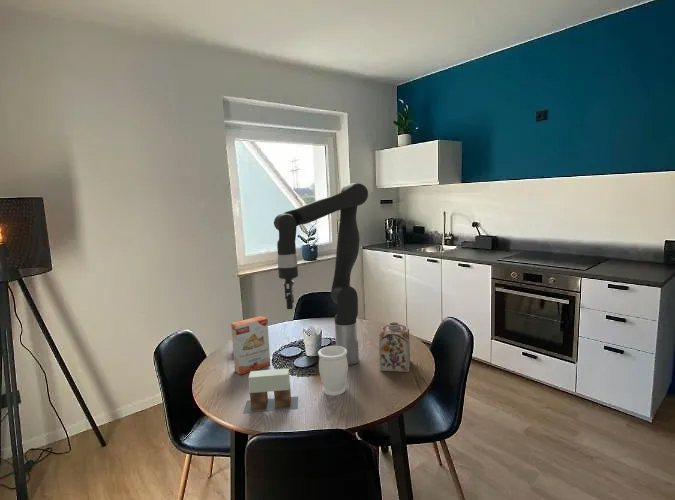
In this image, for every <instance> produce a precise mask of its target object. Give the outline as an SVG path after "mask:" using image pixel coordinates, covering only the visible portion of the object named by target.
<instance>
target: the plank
mask: <svg viewBox="0 0 675 500" xmlns="http://www.w3.org/2000/svg"><path fill="white" fill-rule="evenodd" d="M289 386H290V387H291V381H290V369H289V368H277V369H265V370H264V369H263V370H253V371H250V372H249V375H248V387H249V394H250V393H257V392H267V393H269V392H274V391H282V390H289Z"/></svg>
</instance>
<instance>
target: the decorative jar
mask: <svg viewBox="0 0 675 500" xmlns="http://www.w3.org/2000/svg"><path fill="white" fill-rule="evenodd" d="M378 341H379V344H378V346H379V348H378V350H379V352H378V353H379V371H381V372H394V373H395V372H398V373H409V372H410V367H411V366H410V363H411V351H410V349H411V347H410V343H411V342H410V329H409V327H407V326H406V325H403V324H400V322H398V321H391V322H389V323H388V324H386V325H385V324H384V326H381V327H380V330H379V337H378Z"/></svg>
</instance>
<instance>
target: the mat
mask: <svg viewBox="0 0 675 500" xmlns="http://www.w3.org/2000/svg"><path fill="white" fill-rule="evenodd" d="M298 406H299V396H291V406H290V407H284V408H275V397H273V398H268V404H267V408H266V409H260V410H251V401H250V399H249V400H246V403H245V406H244V409H243V412H242V414H253V413H254V414H255V413H265V412H278V411H289V410H298V409H299V407H298Z"/></svg>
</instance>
